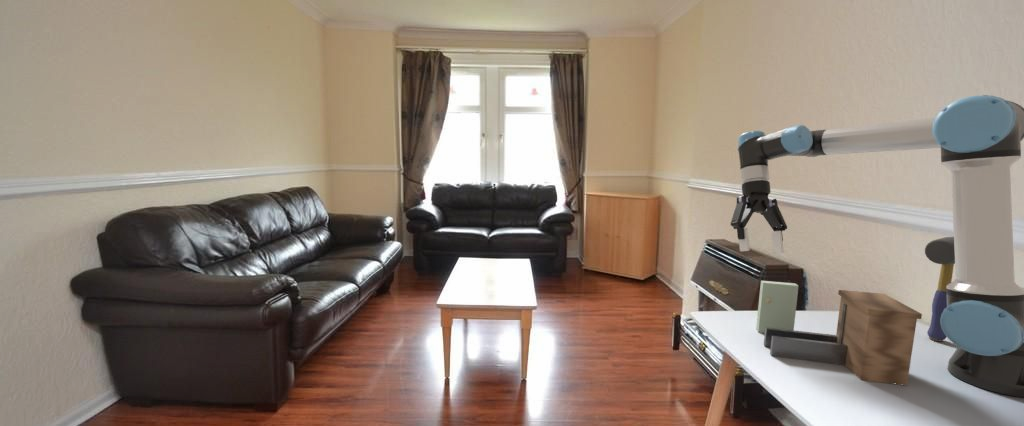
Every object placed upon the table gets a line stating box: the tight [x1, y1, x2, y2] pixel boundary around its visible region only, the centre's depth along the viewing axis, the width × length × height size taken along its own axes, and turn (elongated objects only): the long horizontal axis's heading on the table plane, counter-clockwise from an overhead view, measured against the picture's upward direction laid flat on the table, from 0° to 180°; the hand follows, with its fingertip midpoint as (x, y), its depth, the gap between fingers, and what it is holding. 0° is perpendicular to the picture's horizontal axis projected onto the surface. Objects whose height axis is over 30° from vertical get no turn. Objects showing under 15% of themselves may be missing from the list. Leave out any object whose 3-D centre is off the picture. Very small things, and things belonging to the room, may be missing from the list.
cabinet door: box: [755, 280, 799, 334], centre depth 127 cm, size 9×3×15 cm, turn 75°
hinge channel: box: [763, 327, 848, 366], centre depth 114 cm, size 16×7×5 cm, turn 75°
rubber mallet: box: [924, 236, 955, 342], centre depth 124 cm, size 12×8×30 cm, turn 115°
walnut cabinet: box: [835, 289, 923, 386], centre depth 106 cm, size 10×15×17 cm, turn 165°
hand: (761, 252), depth 130 cm, fingers open, 13 cm apart
